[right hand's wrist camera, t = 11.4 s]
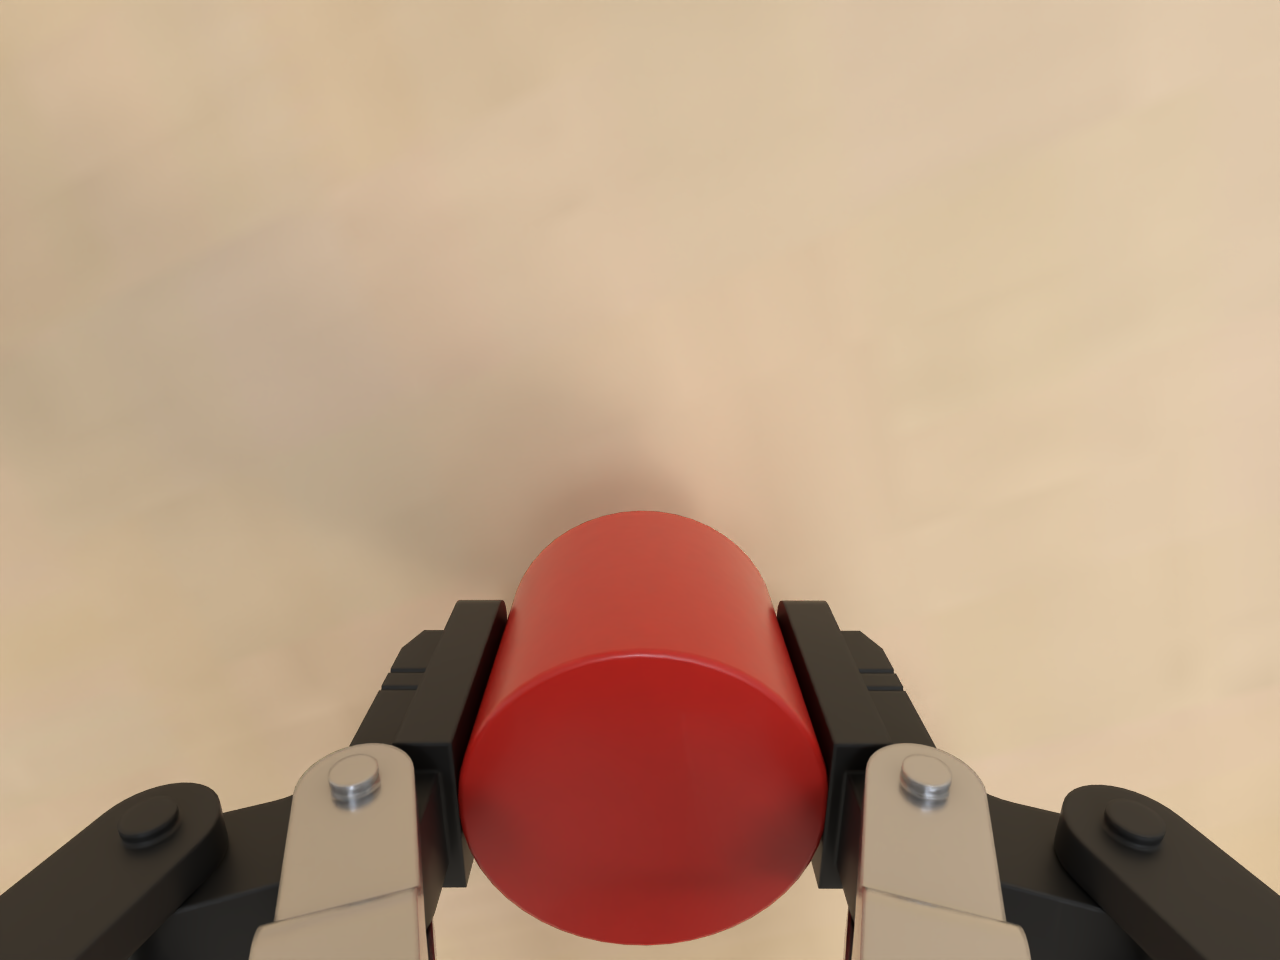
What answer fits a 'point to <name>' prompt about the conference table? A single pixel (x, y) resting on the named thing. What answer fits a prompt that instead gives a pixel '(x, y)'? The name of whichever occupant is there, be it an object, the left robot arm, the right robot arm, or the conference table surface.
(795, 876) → the cylinder
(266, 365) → the conference table surface
